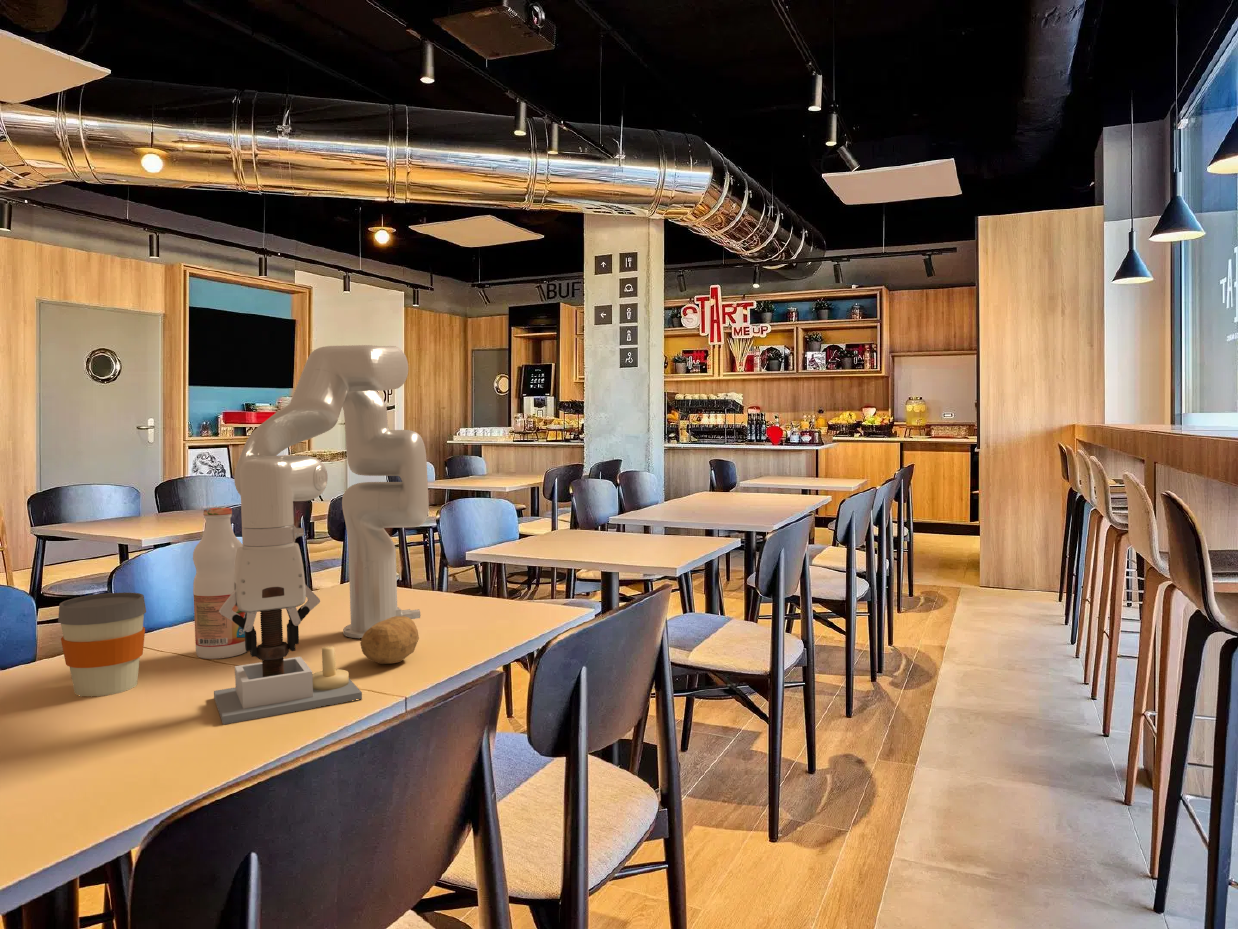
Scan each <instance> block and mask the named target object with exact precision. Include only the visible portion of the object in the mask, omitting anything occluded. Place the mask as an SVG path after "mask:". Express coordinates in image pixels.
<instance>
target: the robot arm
mask: <svg viewBox="0 0 1238 929" xmlns="http://www.w3.org/2000/svg"><path fill="white" fill-rule="evenodd" d="M408 373H409V362H408V358H407V356H406V354H405V353H404V351H403V350H402V349H401V348H400V347H398V346H396V345H387V346H386V345H372V344H371V345H370V344H361V345H360V344H358V345H357V344H356V345H355V344H354V345H351V344H350V345H327V346H322V347H318V348H316V349H314V350H312V352H311V353H310V354H309V356H308V357H307V359H306V362H305V365H304V367H303V369H302V372H301V374H300V375H299V376H300V377H299V379H298V382H297V384H296V387H295V390H294V392H293V394H292V397H291V400H290V402H289V404H287V405H286V406H285V407H283V408H282V409H280V410H278V411H277V412H275V413H274V414H272V415H271V416H270V417H269V418H267V419H266V420H265V421H263V422H262V423H261V424H259V425H258V426H257V427H256V428H255V429H254V430H253V431H252V432H251V433H250V435H249V436H248V438H247V440H246V442H245V444H244V446H243V448H242V450H241V452H240V455H239V458H238V460H237V463H236V467H235V471H234V478H233V479H234V486H235V489H236V491H237V493H238V494H239V496H240V507H241V508H240V509H241V511H240V512H241V538H242V540H241V541H242V542H241V543H242V544H243V547H238V548H237V552H236V558H235V569H234V591H233V593H232V594H231V595H230V597H229V598H228V599H227V600H226V602H225V603H224V604H223V606H222V607H221V608H220V610H219V612H220V614H221V615H223V616H225V617H226V618H228V619H230V620H232V621H233V622H234V623H236V624H237V625H238V626H240V627H241V628H242V629H244V630H245V649H246V651H247V652H249V654H250V656H251V658H254V657H255V658H257V657H256V656H257V646H258V644H257V630H256V628H255V626H254V624H255V620H256V617H257V613H258V612H260V613H261V611H269V610H278V609H281V610H284V609H285V610H286V613H287V616H288V622H287V624H286V639H287V640H286V641H287V642H286V643H288V644H289V652H290V651H291V652H295V651H296V645H299V643H300V636H299V634H300V632H299V626H300V624H301V623H302V621H303V620H304V619H305V618H306V617H307V615H309V614H310V612H311V611H312V610H313V609H314V608H316V606H319V604H320V602H321V599H320V598H319V597H318V596H317V595H316V594H315V592H313V591H312V590H311V588H309V586H307V584H306V578H305V571H304V563H303V558H302V553H301V549H300V548H301V547H300V545H299V543H298V542H296V539H297V538H299V537H304V535H305V530H304V529H305V528H303V527H297V526H296V525H295V521H294V502H308V501H311V500H314V499H317V498H318V497H320V496H321V495H322V494H323V492H324V491H325V489H326V488H327V484H328V479H329V478H328V470H327V469H326V466H325V465H324V464H323V462H322V461H321V460H319V459H318V458H316V457H313V456H310V455H279V454H280V453H281V452H283V451H285V450H286V449H288V448H290V447H291V446H294V445H297V444H300V443H303V442H305V441H307V440H311V439H312V438H316V437H318V436H321V435H323V434H325V433H327V432H329V431H330V430H332V429H333V428H334V427H336V425H337V423H338V420H339V418H340V415H341V411H343V415H344V416H343V417H344V428H345V446H346V458H347V464H348V465H347V466H348V467H349V470H350V471H351V472H352V473H354V474H355V475H358V476H363V477H364V476H367V477H368V476H369V477H381V476H383V477H384V476H385V477H386V476H387V477H390V476H393V477H399V478H400V480H401V481H363V482H358V483H355V484H352V485H351V486H349V487H347V489H345V491H344V492H343V495H342V500H341V507H342V513H343V518H344V522H345V528H346V534H347V543H348V544H347V548H348V576H349V579H348V582H349V606H350V607H349V608H350V611H349V612H350V614H349V615H350V624H347V625H345V626H344V627H343V631H342V633H343V635H344V636H345V637H347V638H352V639H360V638H362V637H363V635H364V633H365V632H366V631H367V630H368V629H369V628H371V627H372V626H374V625H375V624H377V623H378V622H381V621H383V620H386V619H389V618H391V617H395V616H405V617H409V618H410V619H411V620H415V619H416V620H417V619H421V611H420V609H410V608H409V609H401V608H400V607H399V606H398V586H397V585H398V584H397V583H398V582H397V550H396V549H397V548H396V545H395V542H394V541H393V539H392V538H391V535H389V533H388V532H387V531H386V529H387V528H393V529H394V528H416V527H420V526H422V525H423V524H424V523H425V522H426V521H427V518H428V515H429V508H430V507H429V503H430V502H429V485H428V462H427V451H426V445H425V443H424V442H425V441H424V440H423V438H422V436H421V435H420V434H419V433H418V432H416V431H414V430H410V429H390V428H389V424H388V409H387V404H386V403H385V400H384V399H383V397H382V395H381V394H380V393H379V392H380V391H381V392H382V391H390V390H398V389H399V388H401V387H403V385H404V384H405V382H406V380H407V379H408V376H409V374H408ZM378 391H379V392H378ZM342 409H343V410H342ZM269 587H282V588H284V596H277V597H269V598H262V590H263V589H266V588H269ZM306 600H307V601H306ZM234 605H236V606H237V607H238V609H239V610H240V611H242V612H245V615H244V618H243V617H242V616H241V615H239V614H238V613H236V612H234V611H233V610H232V608H233V607H234ZM298 607H299V608H298ZM297 609H298V610H297Z"/></svg>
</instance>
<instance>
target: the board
mask: <svg viewBox="0 0 1238 929" xmlns="http://www.w3.org/2000/svg"><path fill="white" fill-rule="evenodd" d="M283 660H284V674H282V675H275V676H269V677H263V675H262V674H263V673H262V672H263V671H262V670H263V669H262V668H263V667H262V666H263V665H262V664H263V663H262V661H261V662H255V663H254V662H253V663H247V664H242V665H235V666H234V678H235V679H234V680H235V682H234V683H235V686H234V687H230V688H224V689H223V688H222V689H216V690H213V698H214V702H215V705H216V708H217V710H218V711H217V712H218V713H219V717H220V720H221V723H222V725H228V724H232V723H233V724H234V723H239V722H246V721H250V720H255V719H256V720H257V719H262V718H267V717H273V716H279V715H285V714H289V713H290V714H291V713H296V712H301V711H306V710H307V711H308V710H311V709H312V708H313V709H317V708H316V707H319V708H322V707H321V706H324V707H326V706H325V705H330V706H334V704H335V705H339V704H338V703H341V704H344V703H343V702H347V701H352V700H356V699H362V700H363V692H362V691H361V690H360V688H358V686H357V685H356V684H355V683H354V682H353V681H352V680H351V678H350V677H349V676H350V675H349V674H350V673H349V671H348V670H344V669H338V668H337V669H336V647H335V646H324V647H323V648H321V660H322V661H321V662H322V664H321V665H322V666H321V667H322V670H320V671H316V672H313V671H312V669H311V668H310V667H309V665H308V663H306V661H305V660H304V659H303V658H302V656H296V657H287V658H284V659H283ZM352 702H353V701H352ZM347 703H348V702H347ZM295 711H296V712H295Z"/></svg>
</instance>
